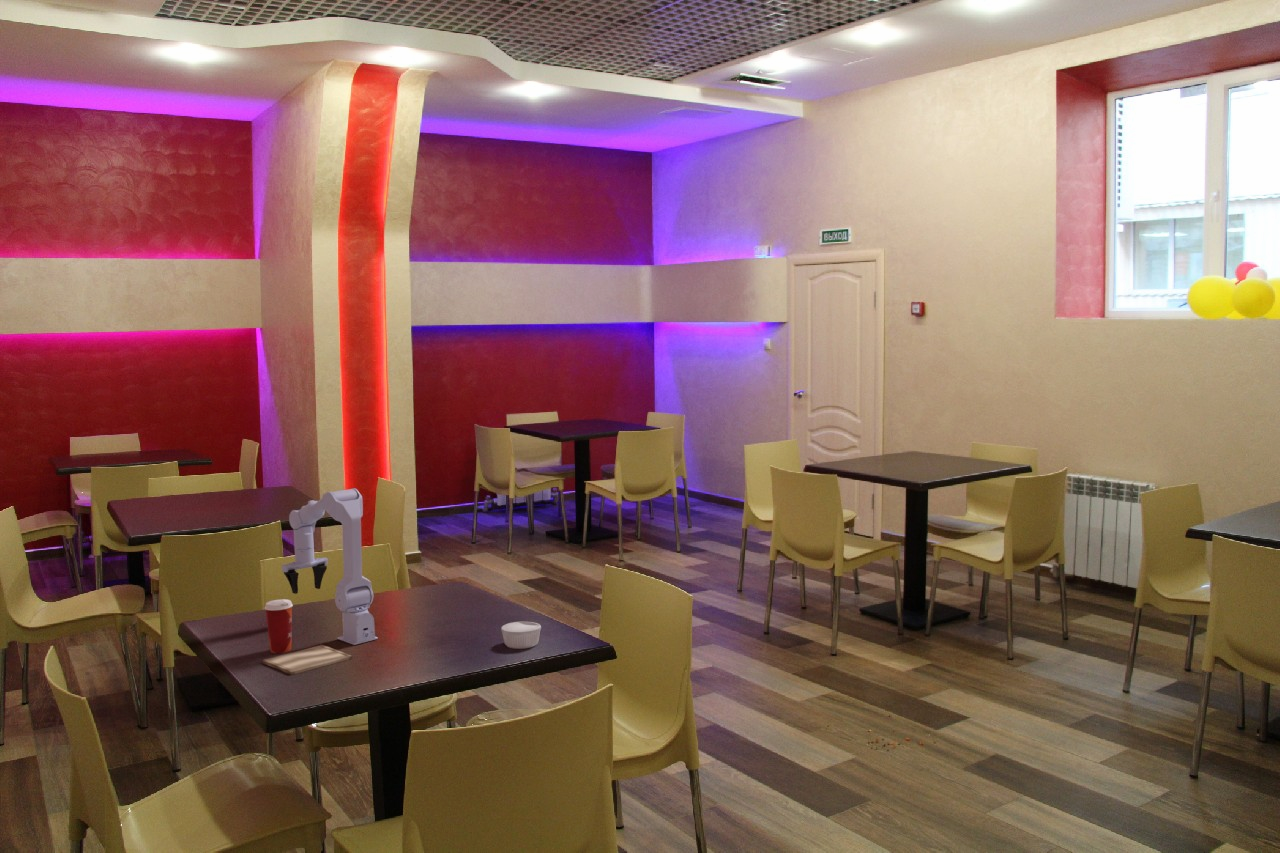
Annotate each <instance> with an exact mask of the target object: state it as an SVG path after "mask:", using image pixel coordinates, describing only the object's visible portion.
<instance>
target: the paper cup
mask: <svg viewBox="0 0 1280 853" xmlns="http://www.w3.org/2000/svg"><path fill="white" fill-rule="evenodd" d="M293 606H294V605H293V603H292V600H291V599H286V598H285V599H283V598H282V599H281V598H280V599H274V600H269V601H267V602H266V603H265V606H264V608H263V609H264V610H265V615H266V622H267V623H266V624H267V625H266V626H267V633H268V640H269V649H270V652H271V654H285V653H288V652H290V651H291V650H292V641H293V640H292V638H293V637H292V633H293V632H292V631H293V630H292V629H293V628H292V623H293V622H292V621H293V619H292V617H293V616H292V614H293V613H292V612H293V610H292V609H293V608H292V607H293Z"/></svg>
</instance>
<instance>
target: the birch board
mask: <svg viewBox="0 0 1280 853" xmlns="http://www.w3.org/2000/svg"><path fill="white" fill-rule="evenodd" d="M352 659H353V656H352V655H351V654H348V653H346V652H344V651H340V650H338V649H335V648H332V647H330V646H327V645H324V644H319V645H316V646H313V647H308V648H305V649H301V650H297V651H293V652H289V653H288V652H287V653H286V654H285V653H283V654H281V655H276V656H272V657H269V658H264V659H262V664H264V665H267V666H269V667H271V668H274V669H276V670H278V671H281V672H283V673H285V674H287V675H290V676H293V675H298V674H300V673H304V672H308V671H311V670H315V669H320V668H323V667H326V666H329V665H330V666H331V665H334V664H339V663H341V662H344V661H349V660H352Z"/></svg>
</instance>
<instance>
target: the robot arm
mask: <svg viewBox="0 0 1280 853" xmlns="http://www.w3.org/2000/svg"><path fill="white" fill-rule="evenodd" d="M363 504H364V502H363V496H362V494H361V493H360V492H359V490H358V489H357V488H349V489H343V490H336V491H335V490H334V491H326V492H325V493H323V494H322V497H321V498H320V499H319V500H313V499H312V500H308V501H307V504H306V505H302V506H301V508H300V509H298V510H297V509H296V510H295V509H293V510H291V512H290V513H289V515H288V516H289V517H288V518H289V519H288V520H289V525H290V527H291V528H292V529H293V541H294V542H293V545H294V559H295V560H294V561H293V562H290V563H287V564H282V565H281V572H283V574H284V576H285V577H286V580H288V582H289V586H290V588H291V592H292V594H295V595H297V594H298V593H299V587H298V586H299V584H298V582H299V581H298V580H299V572H297V571H296V570H302V569H308V568H312V573H313V577H314V578H313V580H314V581H313V582H314V584H313V585H314V589H316V590H321V587H322V582H323V577H324V575H325V572H326V571H327V569H328V566H327V565H329V562H328V561H329V560H328V558H327V557H318V558H317V557H316V558H315V549H314V548H315V544H314V541H315V540H314V533H315V530H316V528H315V527H316V524H317V521H319V520H320V519H322V518H323V517H324V516H325V512H326V513H327V514H328V515H329V516H331V518H332V519H333V520H334V521H337V522H339V523H341V525H342V526H341V527H342V553H343V555H342V558H343V559H342V561H343V577H342V578H341V580H339V581H338V582H337V584H336V592H335V595H334V602H335V603H334V604H335V605H336V608H337V609H338V610H339V612H340V611H341V613H342V614H341V615H342V618H341V619H342V636H338V637H337V640H339V641H342V642H345V643H347V644H351V645H353V646H355V645H359V644H363V643H367V642H370V641H375V640H378V639H379V638H378V637H377V636H376V630H375V618H374V616H373V614H371V613H370V611H369V610H368V609H370V608H371V607H370V606H371V604H372V603H373V600H374V592H373V589H372V588H373V587H372V581H371V580H369V579H368V578H367V577H365V576H363V563H362V562H363V560H362V559H363V555H362V521H361V520H362V517H363V515H364V513H363V512H364V505H363Z"/></svg>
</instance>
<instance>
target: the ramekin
mask: <svg viewBox="0 0 1280 853" xmlns="http://www.w3.org/2000/svg"><path fill="white" fill-rule="evenodd" d="M500 629H501V633H502V637H503V643H504V645H505V646H506V647H507V648H510V649H516V650H517V649H520V650H522V649H528V648H529V649H530V648H533V647H535V646H537V645H538V643H539V639H540V633H541V629H542V626H541V624H540V623H537V622H533V621H513V622H509V623H506V624H504V625H502V626H501V628H500Z"/></svg>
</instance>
